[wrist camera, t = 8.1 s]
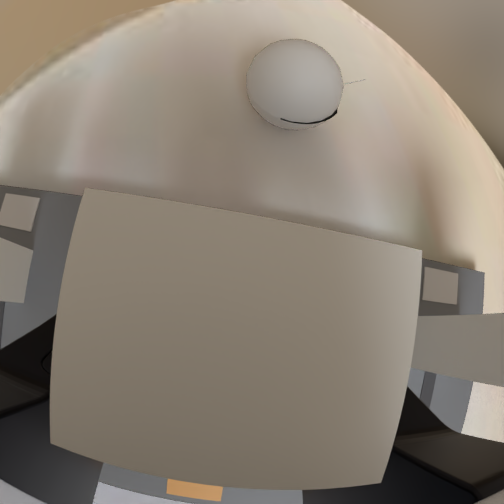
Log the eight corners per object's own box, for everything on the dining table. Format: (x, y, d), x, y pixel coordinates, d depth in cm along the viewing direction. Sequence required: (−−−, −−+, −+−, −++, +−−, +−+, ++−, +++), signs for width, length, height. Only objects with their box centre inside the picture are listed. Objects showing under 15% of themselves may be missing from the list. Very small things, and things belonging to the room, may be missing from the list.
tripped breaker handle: (255, 356, 15) (381, 482, 3) (172, 343, 14) (50, 443, 3) (265, 295, 15) (422, 250, 3) (182, 281, 15) (85, 187, 3)
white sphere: (245, 148, 18) (258, 89, 13) (238, 78, 19) (247, 17, 13) (361, 150, 19) (404, 104, 14) (343, 84, 20) (373, 33, 14)
